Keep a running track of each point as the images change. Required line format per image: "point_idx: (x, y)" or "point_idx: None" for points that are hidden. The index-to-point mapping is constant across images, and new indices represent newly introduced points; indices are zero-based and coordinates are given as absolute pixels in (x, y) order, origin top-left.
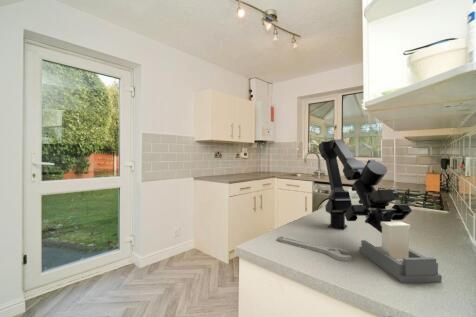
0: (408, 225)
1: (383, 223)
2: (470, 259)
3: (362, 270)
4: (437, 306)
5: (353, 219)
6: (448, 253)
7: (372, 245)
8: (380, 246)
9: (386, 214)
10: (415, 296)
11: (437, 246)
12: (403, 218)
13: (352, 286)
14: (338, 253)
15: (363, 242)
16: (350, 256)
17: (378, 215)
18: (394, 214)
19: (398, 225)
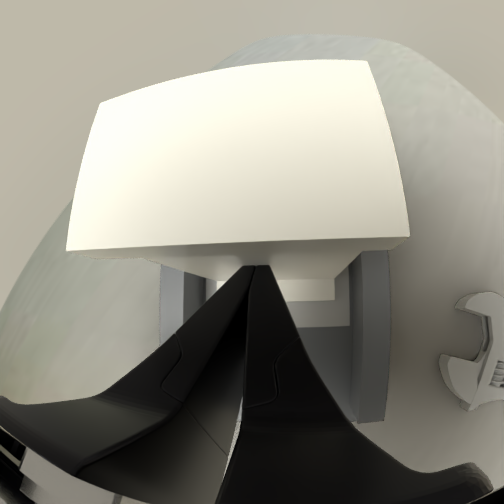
0: (119, 98)
1: (395, 162)
2: (16, 283)
3: (450, 207)
4: (320, 44)
5: (487, 501)
6: (27, 330)
7: (369, 329)
8: (238, 419)
9: (116, 446)
10: None
11: (24, 382)
12: (4, 430)
13: (490, 125)
14: (500, 332)
15: (385, 395)
16: (471, 299)
17: (333, 466)
18: (13, 403)
19: (236, 69)
